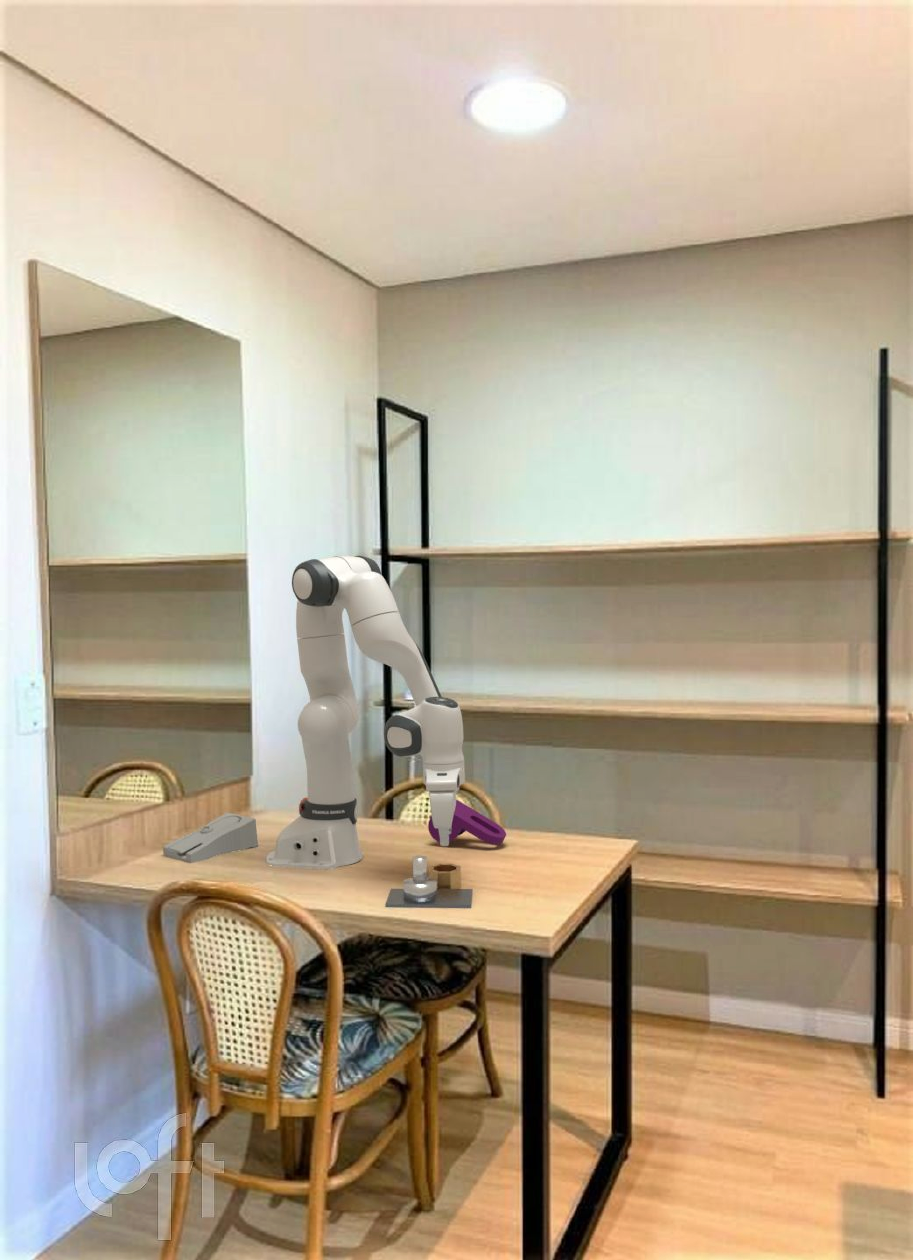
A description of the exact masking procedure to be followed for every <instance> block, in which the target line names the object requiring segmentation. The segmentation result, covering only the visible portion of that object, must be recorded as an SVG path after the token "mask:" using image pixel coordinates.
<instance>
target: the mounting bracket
mask: <svg viewBox="0 0 913 1260" xmlns="http://www.w3.org/2000/svg"><path fill="white" fill-rule="evenodd" d="M427 825H428V827H427V829H428V832H429V835H430V836H431V838H433V840H434V841H436V842H438V843H440V836H439V828H434V825H433V821H432V815H431V816H430V818H429V820H428V823H427ZM465 832H467V833H469V834H471V835H472V836H474V837H475V838H477V839H478V840H480V841H483V842H484V843H487V844H490V845H494V846H500V845H502V844H503V842H504V840H505V839H506V836H507V832H506V831H505V829H504V828H503V827H502V826H501V825H499V824H498V823H497V822H495V821H493V820H491V819H490V818H488V817H486V816H485V815H484V814H482V813H480V812H478V811H476V809H473V808H471V806H468V805H467V804H465V803H463V802H462V801H460V800H458V799H457V798H456V807H455V812H454V816H453V821H452V832H451V834H449V843H451V842H452V841H454V840H455V839H457V838H458V837H459V836H461V835H462V834H464V833H465Z"/></svg>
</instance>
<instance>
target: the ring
mask: <svg viewBox="0 0 913 1260" xmlns="http://www.w3.org/2000/svg"><path fill="white" fill-rule="evenodd" d="M461 868H462V867H461V865H457V864H454V863H438V864H437V863H436V864H434V865H430V866H429V869H428V877H430V878H433V879H435V880H436V881H437V889H462V888H461V887H462V876H461V875H462V872H461V871H462V869H461Z"/></svg>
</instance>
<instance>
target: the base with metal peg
mask: <svg viewBox="0 0 913 1260" xmlns="http://www.w3.org/2000/svg"><path fill="white" fill-rule="evenodd" d="M427 860H428V859H427V856H425V855H414V856H412V877H409V878H406V879H404V880H403V881H402V888H390V891H389V893H388V896H387V898H386V902H385V904H384V905H385V906H384V907H385V908H408V909H409V908H411V909H412V908H414V909H415V908H417V909H418V908H419V909H420V908H423V909H424V908H425V909H472V903H473V895H474V893H473V892H474V890H473V888H460V889H437V881H436V880H435V879H433V878H430V877H429V876H428V873H427V872H428V870H427V865H428V863H427Z"/></svg>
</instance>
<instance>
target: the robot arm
mask: <svg viewBox="0 0 913 1260" xmlns="http://www.w3.org/2000/svg"><path fill="white" fill-rule="evenodd" d="M381 571H382V570H381V568H380V566H379V564H378V563H377V562H376V560H374V559H372V558H370V557H367V556H362V555H355V556H351V555H334V556H332V557H331V556H330V557H325V558H319V559H317V558H316V559H315V558H311V559H308V560H305V561H303V562H301V563H299V564H298V565H297V566H296V567H295V569H294V570H293V572H292V573H293V574H292V577H291V588H292V592H293V593H294V597H295V598H296V599H297V602H296V611H295V613H296V614H295V627H296V628H295V629H296V640H297V641H296V642H297V649H298V650H297V651H298V660H299V667H300V668H299V669H300V673H301V674H302V677H303V679H304V682H305V684H306V687H307V691H308V692H307V693H308V695H309V700H310V701H309V702H308V703H306V704H305V706H304V707H303V708H302V710H301V712H300V714H299V716H298V718H297V719H298V720H297V729H298V733H299V735H300V737H301V743H302V747H303V749H302V750H303V753H304V754H303V755H304V758H305V764H306V784H307V785H306V786H307V791H306V792H307V797H303V798H302V799H301V800H300V803H299V804H298V805H299V806H298V813H299V814H298V815H299V816H298V817H297V818H295V819H294V821H292V822H290V824H288V825H287V826H286V827H284V829H282V830H281V831H280V832H279V834H278V835H277V839H276V843H275V847H274V848H275V849H274V850H272V851H270V852H269V853H268V854H267V856H266V857H265V864H266V863H267V864H268V865H272V866H271V867H274V866H285V867H284V868H289V867H294V868H293V869H304V868H317V869H316V870H320V869H329V870H332V869H331V868H333V869H336V868H339V867H344V866H349V865H352V864H355V863H358V862H360V861H361V860H362V859H363V857H364V856H363V854H362V850H361V846H360V842H359V837H358V830H357V829H358V828H357V821H358V804H357V803H358V802H357V797H356V796H355V795H356V793H355V791H356V790H355V786H356V785H355V764H354V761H353V759H352V753H351V749H350V748H351V747H350V741H349V737H350V736H349V735H350V733H351V732H353V731H354V729H355V728H356V726H357V724H358V721H359V719H360V708H359V704H358V702H357V697H356V694H355V689H354V685H353V681H352V677H351V673H350V669H349V662H348V653H347V645H346V637H345V628H344V622H343V613H344V609H345V610H346V613H347V615H348V621H349V625H350V627H351V631H352V634H353V638H354V641H355V643H356V645H357V647H358V649H359V650H360V652H361V653H362V654H363V655H364V656H365V657H367V658H368V659H370V660H372V661H374V662H378V663H380V664H384V665H387V666H388V667H390V668H392V669H394V670H395V671H396V672H398V673H399V675H401V676H402V678H403V679H404V681H405V683H406V685H407V688H408V690H409V692H410V695H411V697H412V699H413V702H414V703H415V706H414V707H413V708H410V709H408V710H406V711H402V712H400V713H397V714H394V715H391V716H390V717H389V718H388V720H387V721H386V723H385V725H384V730H383V737H384V743H385V745H386V747H387V749H388V750H389V752H391V753H392V754H393V755H395V756H396V757H399V758H400V757H403V758H409V757H414V756H419V755H420V756H421V759H422V780H423V781H422V782H423V785H425V790H426V791H427V792H428V795H429V796H428V797H429V804H430V812H431V813H430V814H431V816H432V821H433V825H434V828H439V836H440V842H439V843H440V844H439V845H440V846H441V847H448V846H449V844H450V842H449V834H451V832H452V821H453V816H454V812H455V807H456V799H457V796H456V795H457V792H458V791H460V786H461V785H462V784H464V783H465V782H466V774H465V770H466V769H465V757H464V752H463V743H464V740H465V739H464V723H463V716H462V710H461V708H460V705H459V703H458V702H457V701H455V700H454V699H452V698H449V697H444V696H442V694H441V692H440V690H439V688H438V685H437V683H436V681H435V678H434V677H433V674H432V671H431V669H430V666H429V665H428V662H427V661H426V658H425V655H424V654H423V652H422V650H421V648H420V647H419V645H418V644H417V643H416V642H415V641H414V640H413V638H412V636H411V635H410V634H409V632H408V630H407V628H406V627H405V624H404V622H403V620H402V617H401V613H400V611H399V608H398V605H397V602H396V600H395V598H394V597H395V596H394V595H393V593H392V591H391V589H390V587H389V584H388V583H387V580H386V579H385V578H384V576H383V575H382V572H381ZM267 864H266V865H267ZM268 865H267V866H268ZM296 867H297V868H296Z"/></svg>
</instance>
